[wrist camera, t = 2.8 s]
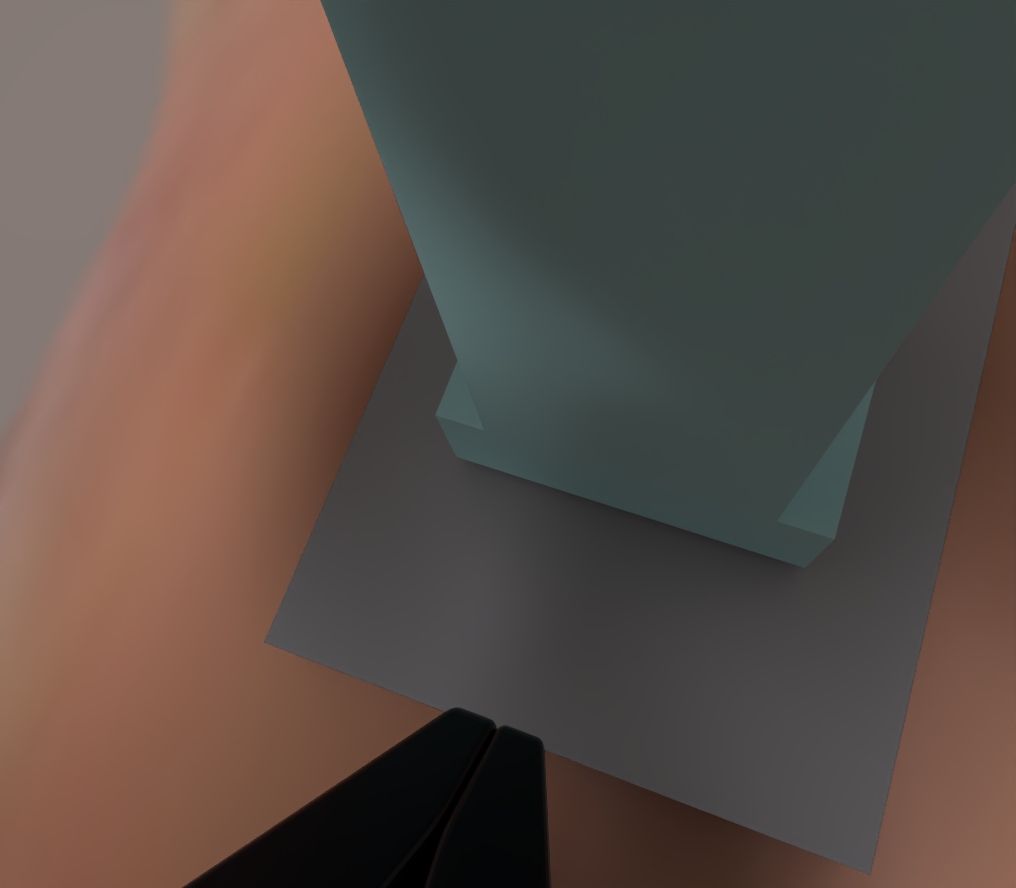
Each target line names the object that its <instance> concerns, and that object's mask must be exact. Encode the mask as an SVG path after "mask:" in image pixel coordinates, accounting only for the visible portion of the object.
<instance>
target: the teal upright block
mask: <svg viewBox="0 0 1016 888" xmlns="http://www.w3.org/2000/svg"><path fill="white" fill-rule="evenodd" d="M321 3H322V5H323V8H324V10H325V13H326V16H327V18H328V21H329V24H330V26H331V29H332V32H333V34H334V37H335V39H336V42H337V45H338V47H339V50H340V53H341V55H342V58H343V60H344V63H345V66H346V68H347V71H348V74H349V76H350V79H351V81H352V84H353V87H354V89H355V92H356V95H357V97H358V100H359V103H360V105H361V108H362V110H363V113H364V116H365V118H366V121H367V124H368V126H369V129H370V131H371V134H372V137H373V139H374V142H375V145H376V147H377V150H378V152H379V155H380V158H381V160H382V163H383V166H384V168H385V171H386V174H387V176H388V179H389V181H390V184H391V187H392V189H393V192H394V195H395V197H396V200H397V202H398V205H399V208H400V210H401V213H402V216H403V218H404V221H405V223H406V226H407V229H408V231H409V234H410V237H411V239H412V242H413V245H414V247H415V250H416V252H417V255H418V258H419V260H420V263H421V266H422V268H423V271H424V273H425V276H426V279H427V281H428V284H429V287H430V289H431V292H432V294H433V297H434V300H435V302H436V305H437V308H438V310H439V313H440V316H441V318H442V321H443V323H444V326H445V329H446V331H447V334H448V337H449V339H450V342H451V344H452V347H453V350H454V352H455V355H456V358H457V360H458V361H457V363H456V366H455V368H454V370H453V373H452V375H451V378H450V380H449V383H448V385H447V388H446V390H445V393H444V395H443V397H442V400H441V402H440V405H439V407H438V410H437V412H436V415H435V416H436V418H437V420H438V422H439V424H440V426H441V428H442V430H443V432H444V434H445V436H446V438H447V440H448V442H449V444H450V445H451V447H452V449H453V451H454V453H455V455H456V457H458V458H461V459H465V460H468V461H471V462H474V463H477V464H480V465H483V466H486V467H490V468H493V469H496V470H499V471H502V472H505V473H508V474H512V475H515V476H518V477H521V478H524V479H527V480H530V481H533V482H537V483H540V484H543V485H546V486H549V487H552V488H555V489H559V490H562V491H565V492H568V493H571V494H574V495H577V496H580V497H584V498H587V499H590V500H593V501H596V502H599V503H602V504H606V505H609V506H612V507H615V508H618V509H621V510H624V511H627V512H631V513H634V514H637V515H640V516H643V517H646V518H649V519H653V520H656V521H659V522H662V523H665V524H668V525H671V526H674V527H678V528H681V529H684V530H687V531H690V532H693V533H696V534H700V535H703V536H706V537H709V538H712V539H715V540H718V541H721V542H725V543H728V544H731V545H734V546H737V547H740V548H743V549H747V550H750V551H753V552H756V553H759V554H762V555H765V556H768V557H772V558H775V559H778V560H781V561H784V562H787V563H790V564H794V565H797V566H800V567H803V568H806V567H807V566H808V565H809V564H810V563H811V562H812V561H813V560H814V559H815V558H816V557H817V556H818V555H819V554H820V553H821V552H822V551H823V550H824V549H825V548H826V547H827V546H828V545H829V544H830V543H831V542H832V541H833V540H834V539H835V536H836V532H837V528H838V524H839V521H840V517H841V513H842V509H843V505H844V501H845V497H846V494H847V490H848V486H849V482H850V478H851V474H852V471H853V467H854V463H855V459H856V455H857V451H858V448H859V444H860V440H861V436H862V432H863V428H864V424H865V421H866V417H867V413H868V409H869V405H870V401H871V398H872V394H873V390H874V386H875V382H876V379H877V378H878V377H879V375H880V374H881V372H882V371H883V369H884V368H885V367H886V365H887V364H888V362H889V361H890V360H891V358H892V357H893V355H894V354H895V352H896V351H897V350H898V348H899V347H900V345H901V344H902V342H903V341H904V340H905V338H906V337H907V335H908V334H909V333H910V331H911V330H912V328H913V327H914V325H915V324H916V323H917V321H918V320H919V318H920V317H921V315H922V314H923V313H924V311H925V310H926V308H927V307H928V305H929V304H930V303H931V301H932V300H933V298H934V297H935V296H936V294H937V293H938V291H939V290H940V288H941V287H942V286H943V284H944V283H945V281H946V280H947V278H948V277H949V276H950V274H951V273H952V271H953V270H954V268H955V267H956V266H957V264H958V263H959V261H960V260H961V259H962V257H963V256H964V254H965V253H966V251H967V250H968V249H969V247H970V246H971V244H972V243H973V241H974V240H975V239H976V237H977V236H978V234H979V233H980V231H981V230H982V229H983V227H984V226H985V224H986V223H987V222H988V220H989V219H990V217H991V216H992V214H993V213H994V212H995V210H996V209H997V207H998V206H999V204H1000V203H1001V202H1002V200H1003V199H1004V197H1005V196H1006V194H1007V193H1008V192H1009V190H1010V189H1011V187H1012V186H1013V185H1014V183H1015V182H1016V0H321Z"/></svg>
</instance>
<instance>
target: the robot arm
mask: <svg viewBox="0 0 1016 888" xmlns="http://www.w3.org/2000/svg"><path fill="white" fill-rule="evenodd" d="M182 888H551V872H550V852H549V831H548V810H547V790H546V769H545V749H544V744H543V742H542V740H541V739H540V738H538V737H536V736H534V735H531V734H528V733H526V732H523V731H521V730H518V729H515V728H513V727H510V726H508V725H502V726H500V727H499V728H498V729H497V726H496V724H495V723H494V721H493V720H491V719H489V718H487V717H484V716H481V715H479V714H476V713H474V712H471V711H468V710H466V709H463V708H460V707H455V708H451V709H449V710H447V711H446V712H444V713H443V714H441V715H440V716H438V717H437V718H435V719H434V720H432V721H431V722H429V723H428V724H426V725H425V726H423V727H422V728H420V729H419V730H417V731H416V732H414V733H413V734H411V735H410V736H408V737H407V738H405V739H404V740H402V741H401V742H399V743H398V744H396V745H395V746H393V747H392V748H390V749H389V750H387V751H386V752H384V753H383V754H381V755H380V756H378V757H377V758H375V759H374V760H372V761H371V762H369V763H368V764H366V765H365V766H363V767H362V768H361V769H359V770H358V771H356V772H355V773H353V774H352V775H350V776H349V777H347V778H346V779H344V780H343V781H341V782H340V783H338V784H337V785H335V786H334V787H332V788H331V789H329V790H328V791H326V792H325V793H323V794H322V795H320V796H319V797H317V798H316V799H314V800H313V801H311V802H310V803H308V804H307V805H305V806H304V807H302V808H301V809H299V810H298V811H296V812H295V813H293V814H292V815H290V816H289V817H287V818H286V819H284V820H283V821H281V822H280V823H278V824H277V825H275V826H274V827H272V828H271V829H269V830H268V831H266V832H265V833H263V834H262V835H260V836H259V837H257V838H256V839H254V840H253V841H251V842H250V843H248V844H247V845H245V846H244V847H242V848H241V849H239V850H238V851H236V852H235V853H233V854H232V855H230V856H229V857H227V858H226V859H224V860H223V861H221V862H220V863H218V864H217V865H215V866H214V867H212V868H211V869H209V870H208V871H206V872H205V873H203V874H202V875H200V876H199V877H197V878H196V879H194V880H193V881H191V882H190V883H188V884H187V885H185V886H184V887H182Z"/></svg>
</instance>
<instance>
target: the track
mask: <svg viewBox="0 0 1016 888" xmlns="http://www.w3.org/2000/svg"><path fill="white" fill-rule="evenodd" d="M1015 225H1016V182H1015V183H1014V185H1013V186H1012V187H1011V189H1010V190H1009V192H1008V193H1007V194H1006V196H1005V197H1004V199H1003V200H1002V202H1001V203H1000V204H999V206H998V207H997V209H996V210H995V212H994V213H993V214H992V216H991V217H990V219H989V220H988V222H987V223H986V224H985V226H984V227H983V229H982V230H981V231H980V233H979V234H978V236H977V237H976V239H975V240H974V241H973V243H972V244H971V246H970V247H969V249H968V250H967V251H966V253H965V254H964V256H963V257H962V259H961V260H960V261H959V263H958V264H957V266H956V267H955V268H954V270H953V271H952V273H951V274H950V276H949V277H948V278H947V280H946V281H945V283H944V284H943V286H942V287H941V288H940V290H939V291H938V293H937V294H936V296H935V297H934V298H933V300H932V301H931V303H930V304H929V305H928V307H927V308H926V310H925V311H924V313H923V314H922V315H921V317H920V318H919V320H918V321H917V323H916V324H915V325H914V327H913V328H912V330H911V331H910V333H909V334H908V335H907V337H906V338H905V340H904V341H903V342H902V344H901V345H900V347H899V348H898V350H897V351H896V352H895V354H894V355H893V357H892V358H891V360H890V361H889V362H888V364H887V365H886V367H885V368H884V369H883V371H882V372H881V374H880V375H879V377H878V378H877V379H876V382H875V386H874V390H873V394H872V398H871V401H870V405H869V409H868V413H867V417H866V421H865V424H864V428H863V432H862V436H861V440H860V444H859V448H858V451H857V455H856V459H855V463H854V467H853V471H852V474H851V478H850V482H849V486H848V490H847V494H846V497H845V501H844V505H843V509H842V513H841V517H840V521H839V524H838V528H837V532H836V536H835V539H834V540H833V541H832V542H831V543H830V544H829V545H828V546H827V547H826V548H825V549H824V550H823V551H822V552H821V553H820V554H819V555H818V556H817V557H816V558H815V559H814V560H813V561H812V562H811V563H810V564H809V565H808V566H807V567H806V568H803V567H800V566H797V565H794V564H790V563H787V562H784V561H781V560H778V559H775V558H772V557H768V556H765V555H762V554H759V553H756V552H753V551H750V550H747V549H743V548H740V547H737V546H734V545H731V544H728V543H725V542H721V541H718V540H715V539H712V538H709V537H706V536H703V535H700V534H696V533H693V532H690V531H687V530H684V529H681V528H678V527H674V526H671V525H668V524H665V523H662V522H659V521H656V520H653V519H649V518H646V517H643V516H640V515H637V514H634V513H631V512H627V511H624V510H621V509H618V508H615V507H612V506H609V505H606V504H602V503H599V502H596V501H593V500H590V499H587V498H584V497H580V496H577V495H574V494H571V493H568V492H565V491H562V490H559V489H555V488H552V487H549V486H546V485H543V484H540V483H537V482H533V481H530V480H527V479H524V478H521V477H518V476H515V475H512V474H508V473H505V472H502V471H499V470H496V469H493V468H490V467H486V466H483V465H480V464H477V463H474V462H471V461H468V460H465V459H461V458H458V457H456V455H455V453H454V451H453V449H452V447H451V445H450V444H449V442H448V440H447V438H446V436H445V434H444V432H443V430H442V428H441V426H440V424H439V422H438V420H437V418H436V416H435V415H436V412H437V410H438V407H439V405H440V402H441V400H442V397H443V395H444V393H445V390H446V388H447V385H448V383H449V380H450V378H451V375H452V373H453V370H454V368H455V366H456V363H457V361H458V360H457V358H456V355H455V352H454V350H453V347H452V344H451V342H450V339H449V337H448V334H447V331H446V329H445V326H444V323H443V321H442V318H441V316H440V313H439V310H438V308H437V305H436V302H435V300H434V297H433V294H432V292H431V289H430V287H429V284H428V281H427V279H426V276H425V273H424V275H423V277H422V280H421V282H420V284H419V287H418V289H417V291H416V294H415V296H414V298H413V300H412V303H411V305H410V307H409V310H408V312H407V314H406V317H405V319H404V321H403V324H402V326H401V328H400V330H399V333H398V335H397V337H396V340H395V342H394V344H393V347H392V349H391V351H390V353H389V356H388V358H387V360H386V363H385V365H384V367H383V370H382V372H381V374H380V377H379V379H378V381H377V383H376V386H375V388H374V390H373V393H372V395H371V397H370V400H369V402H368V404H367V406H366V409H365V411H364V413H363V416H362V418H361V420H360V423H359V425H358V427H357V430H356V432H355V434H354V436H353V439H352V441H351V443H350V446H349V448H348V450H347V453H346V455H345V457H344V459H343V462H342V464H341V466H340V469H339V471H338V473H337V476H336V478H335V480H334V482H333V485H332V487H331V489H330V492H329V494H328V496H327V499H326V501H325V503H324V506H323V508H322V510H321V512H320V515H319V517H318V519H317V522H316V524H315V526H314V529H313V531H312V533H311V535H310V538H309V540H308V542H307V545H306V547H305V549H304V552H303V554H302V556H301V559H300V561H299V563H298V565H297V568H296V570H295V572H294V575H293V577H292V579H291V582H290V584H289V586H288V588H287V591H286V593H285V595H284V598H283V600H282V602H281V605H280V607H279V609H278V612H277V614H276V616H275V618H274V621H273V623H272V625H271V628H270V630H269V632H268V635H267V637H266V639H265V641H264V643H267V644H269V645H272V646H275V647H277V648H280V649H282V650H285V651H288V652H290V653H293V654H296V655H298V656H301V657H303V658H306V659H309V660H311V661H314V662H316V663H319V664H322V665H324V666H327V667H329V668H332V669H335V670H337V671H340V672H342V673H345V674H348V675H350V676H353V677H355V678H358V679H361V680H363V681H366V682H368V683H371V684H374V685H376V686H379V687H381V688H384V689H387V690H389V691H392V692H395V693H397V694H400V695H402V696H405V697H408V698H410V699H413V700H415V701H418V702H421V703H423V704H426V705H428V706H431V707H434V708H436V709H439V710H441V711H444V712H446V711H447V710H449V709H451V708H455V707H460V708H463V709H466V710H468V711H471V712H474V713H476V714H479V715H481V716H484V717H487V718H489V719H491V720H493V721H494V723H495V724H496V726H497V729H498V728H499V727H500V726H502V725H508V726H510V727H513V728H515V729H518V730H521V731H523V732H526V733H528V734H531V735H534V736H536V737H538V738H540V739H541V740H542V742H543V744H544V749H545V750H546V751H548V752H551V753H553V754H556V755H559V756H561V757H564V758H566V759H569V760H572V761H574V762H577V763H579V764H582V765H585V766H587V767H590V768H593V769H595V770H598V771H600V772H603V773H606V774H608V775H611V776H613V777H616V778H619V779H621V780H624V781H626V782H629V783H632V784H634V785H637V786H639V787H642V788H645V789H647V790H650V791H652V792H655V793H658V794H660V795H663V796H665V797H668V798H671V799H673V800H676V801H678V802H681V803H684V804H686V805H689V806H692V807H694V808H697V809H699V810H702V811H705V812H707V813H710V814H712V815H715V816H718V817H720V818H723V819H725V820H728V821H731V822H733V823H736V824H738V825H741V826H744V827H746V828H749V829H751V830H754V831H757V832H759V833H762V834H764V835H767V836H770V837H772V838H775V839H777V840H780V841H783V842H785V843H788V844H791V845H793V846H796V847H798V848H801V849H804V850H806V851H809V852H811V853H814V854H817V855H819V856H822V857H824V858H827V859H830V860H832V861H835V862H837V863H840V864H843V865H845V866H848V867H850V868H853V869H856V870H858V871H861V872H863V873H866V874H869V875H870V873H871V868H872V864H873V860H874V855H875V851H876V846H877V842H878V837H879V833H880V828H881V824H882V819H883V815H884V810H885V806H886V801H887V797H888V792H889V788H890V784H891V779H892V775H893V770H894V766H895V761H896V757H897V752H898V748H899V743H900V739H901V734H902V730H903V725H904V721H905V716H906V712H907V708H908V703H909V699H910V694H911V690H912V685H913V681H914V676H915V672H916V667H917V663H918V658H919V654H920V649H921V645H922V640H923V636H924V632H925V627H926V623H927V618H928V614H929V609H930V605H931V600H932V596H933V591H934V587H935V582H936V578H937V573H938V569H939V564H940V560H941V555H942V551H943V547H944V542H945V538H946V533H947V529H948V524H949V520H950V515H951V511H952V506H953V502H954V497H955V493H956V488H957V484H958V479H959V475H960V471H961V466H962V462H963V457H964V453H965V448H966V444H967V439H968V435H969V430H970V426H971V421H972V417H973V412H974V408H975V403H976V399H977V395H978V390H979V386H980V381H981V377H982V372H983V368H984V363H985V359H986V354H987V350H988V345H989V341H990V336H991V332H992V327H993V323H994V319H995V314H996V310H997V305H998V301H999V296H1000V292H1001V287H1002V283H1003V278H1004V274H1005V269H1006V265H1007V260H1008V256H1009V251H1010V247H1011V242H1012V238H1013V234H1014V229H1015Z"/></svg>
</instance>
